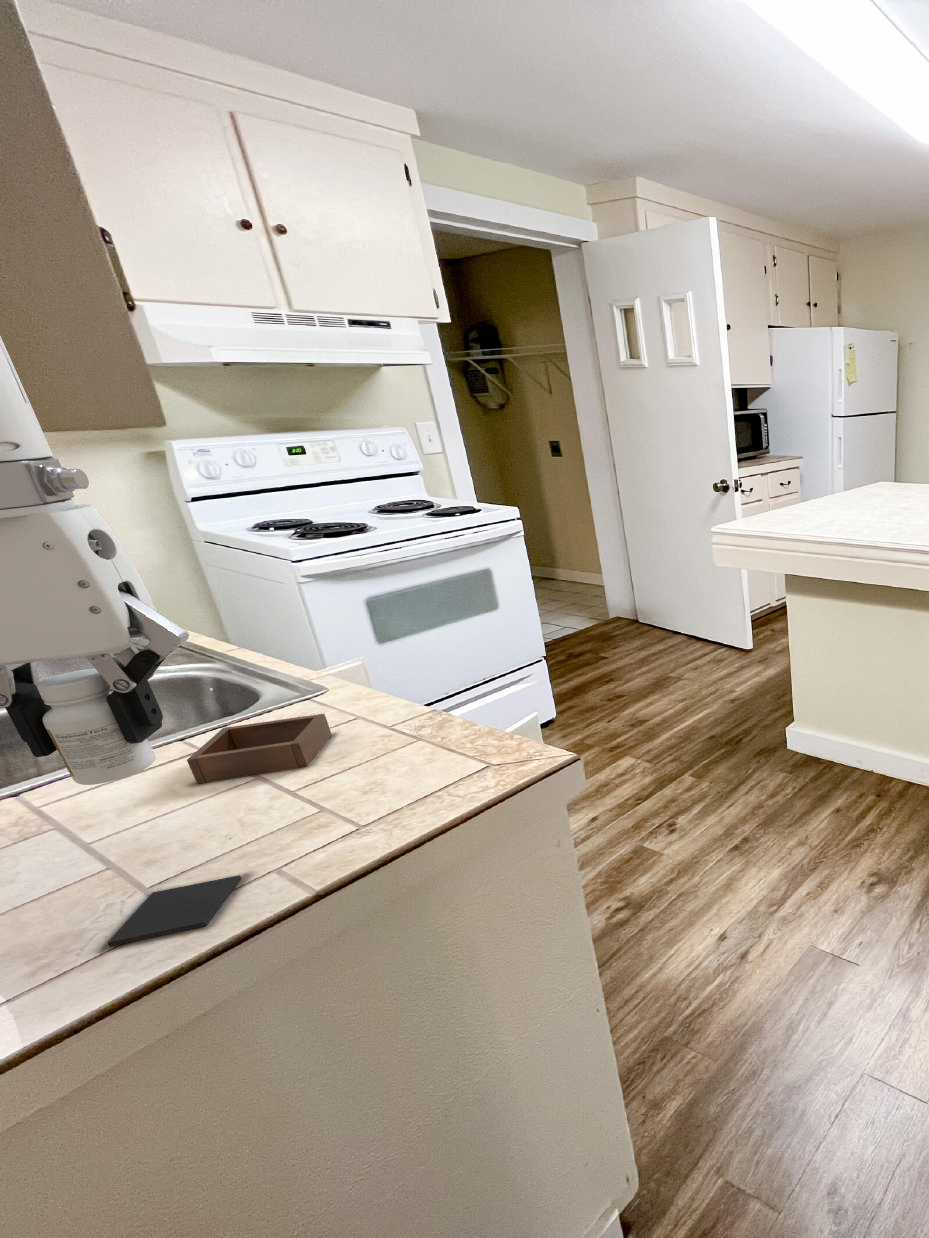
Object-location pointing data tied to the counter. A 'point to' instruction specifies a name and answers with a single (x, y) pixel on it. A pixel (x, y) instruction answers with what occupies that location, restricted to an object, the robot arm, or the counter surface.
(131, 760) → the pill bottle
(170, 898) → the coaster
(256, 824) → the counter surface
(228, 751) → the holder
